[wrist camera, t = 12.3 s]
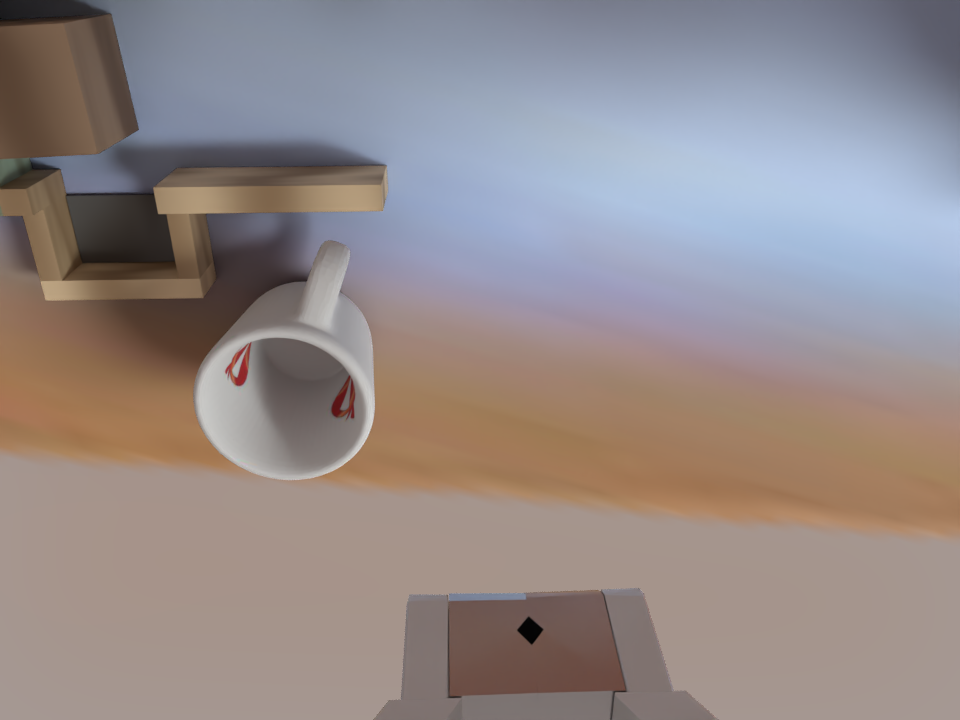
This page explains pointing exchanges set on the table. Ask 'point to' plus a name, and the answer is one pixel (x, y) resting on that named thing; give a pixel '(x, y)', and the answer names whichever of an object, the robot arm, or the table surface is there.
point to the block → (62, 87)
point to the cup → (292, 378)
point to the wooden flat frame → (162, 223)
